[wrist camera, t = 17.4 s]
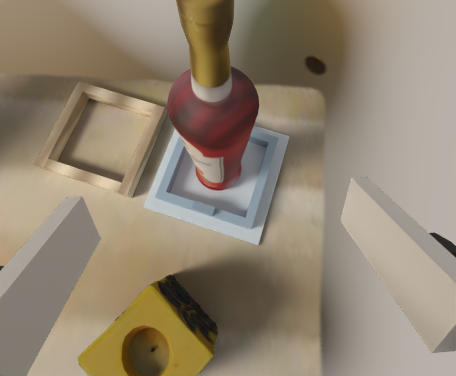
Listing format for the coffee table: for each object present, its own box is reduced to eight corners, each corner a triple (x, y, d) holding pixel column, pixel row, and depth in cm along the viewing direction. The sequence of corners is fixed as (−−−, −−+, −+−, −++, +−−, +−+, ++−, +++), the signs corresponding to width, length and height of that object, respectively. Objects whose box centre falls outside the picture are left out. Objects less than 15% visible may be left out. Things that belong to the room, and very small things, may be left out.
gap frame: (43, 168, 38) (33, 164, 36) (85, 88, 42) (78, 81, 40) (132, 197, 37) (126, 195, 36) (167, 113, 41) (164, 107, 39)
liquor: (185, 168, 38) (84, -23, 11) (220, 139, 39) (212, -101, 12) (216, 203, 37) (194, 89, 9) (252, 172, 38) (323, -10, 11)
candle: (165, 387, 32) (138, 450, 22) (115, 327, 34) (70, 362, 24) (220, 326, 34) (218, 359, 24) (170, 272, 35) (149, 282, 26)
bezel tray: (144, 207, 37) (136, 204, 34) (185, 106, 41) (181, 94, 38) (257, 245, 36) (260, 245, 33) (288, 137, 40) (294, 128, 37)
